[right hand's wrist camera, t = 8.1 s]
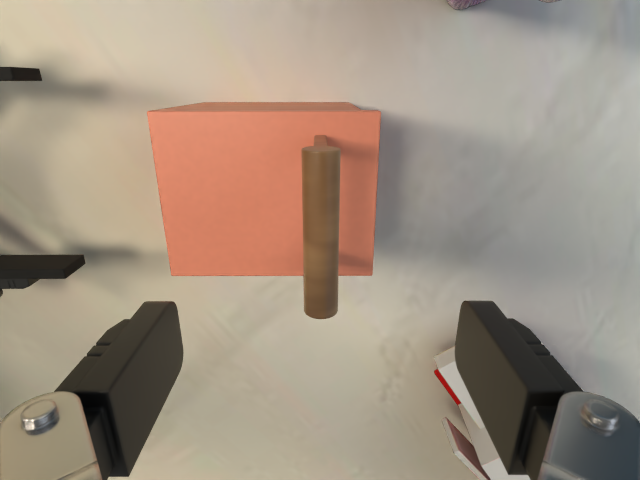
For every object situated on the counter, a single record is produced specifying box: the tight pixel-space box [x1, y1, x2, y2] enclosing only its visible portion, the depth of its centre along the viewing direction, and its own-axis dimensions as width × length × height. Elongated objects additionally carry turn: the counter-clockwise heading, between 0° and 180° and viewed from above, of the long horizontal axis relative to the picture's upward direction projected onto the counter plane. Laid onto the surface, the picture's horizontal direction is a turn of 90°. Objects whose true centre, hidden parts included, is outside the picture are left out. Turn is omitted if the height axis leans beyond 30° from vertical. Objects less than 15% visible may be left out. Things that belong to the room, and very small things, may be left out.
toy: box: [434, 346, 530, 480], centre depth 40 cm, size 12×13×30 cm
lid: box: [147, 110, 381, 319], centre depth 21 cm, size 13×10×8 cm
